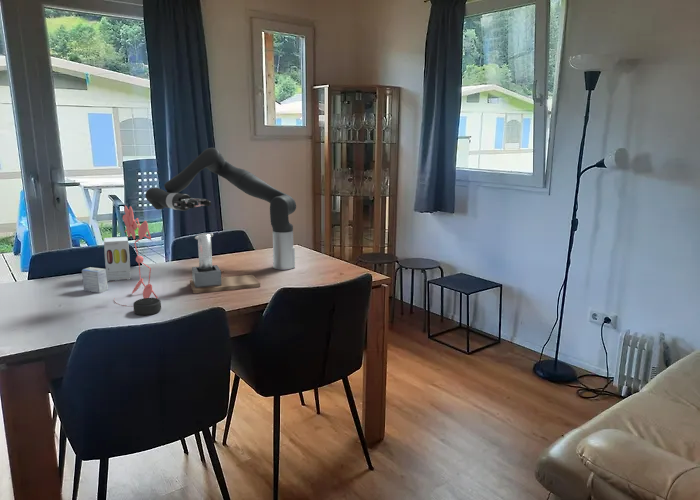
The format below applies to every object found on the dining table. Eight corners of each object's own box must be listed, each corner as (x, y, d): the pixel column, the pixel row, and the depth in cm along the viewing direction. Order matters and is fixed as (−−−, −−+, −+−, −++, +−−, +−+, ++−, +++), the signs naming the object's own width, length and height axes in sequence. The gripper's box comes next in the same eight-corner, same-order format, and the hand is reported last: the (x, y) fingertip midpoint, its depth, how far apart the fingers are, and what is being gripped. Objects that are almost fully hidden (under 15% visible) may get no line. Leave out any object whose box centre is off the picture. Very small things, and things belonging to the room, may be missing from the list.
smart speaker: (158, 315, 179) (157, 304, 178) (131, 316, 178) (130, 305, 177) (163, 307, 187) (163, 296, 186) (137, 308, 186) (136, 297, 185)
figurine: (144, 286, 211) (135, 199, 203) (167, 303, 191) (158, 208, 183) (103, 294, 202) (92, 203, 193) (123, 312, 182) (112, 212, 174)
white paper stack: (108, 290, 206) (106, 268, 204) (99, 293, 202) (97, 271, 200) (92, 288, 209) (90, 266, 207) (83, 291, 205) (81, 269, 203)
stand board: (252, 278, 225) (252, 274, 225) (260, 286, 213) (260, 283, 213) (189, 283, 216) (189, 280, 216) (193, 293, 203) (193, 289, 203)
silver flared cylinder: (211, 280, 216) (208, 232, 212) (219, 282, 213) (216, 233, 209) (194, 284, 210) (191, 235, 205) (202, 286, 207) (199, 237, 202)
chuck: (217, 279, 218) (217, 265, 216) (221, 285, 209) (220, 270, 207) (192, 281, 214) (191, 267, 213) (195, 288, 205) (194, 273, 204)
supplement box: (106, 281, 218) (102, 241, 214) (106, 276, 226) (103, 237, 222) (131, 279, 222) (128, 240, 218) (130, 273, 230) (127, 236, 226)
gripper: (164, 194, 228) (188, 197, 219) (191, 191, 239) (215, 194, 230) (165, 211, 229) (189, 215, 220) (192, 208, 241) (215, 211, 231)
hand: (202, 204), depth 225 cm, fingers open, 8 cm apart
